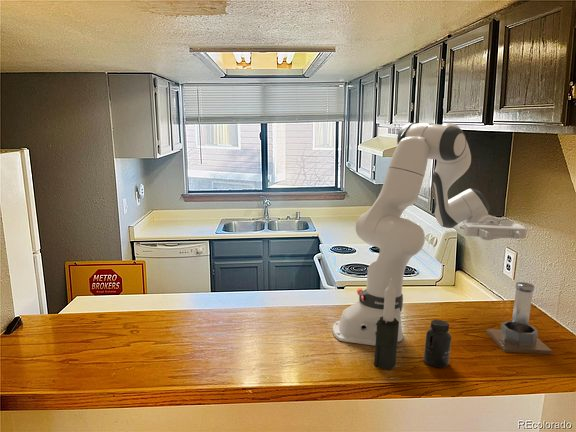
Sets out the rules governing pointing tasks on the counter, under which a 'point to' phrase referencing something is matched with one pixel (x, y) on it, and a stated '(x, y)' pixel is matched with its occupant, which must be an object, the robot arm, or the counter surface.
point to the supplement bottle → (437, 344)
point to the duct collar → (518, 340)
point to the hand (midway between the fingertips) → (503, 235)
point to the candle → (387, 332)
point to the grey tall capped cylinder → (522, 307)
